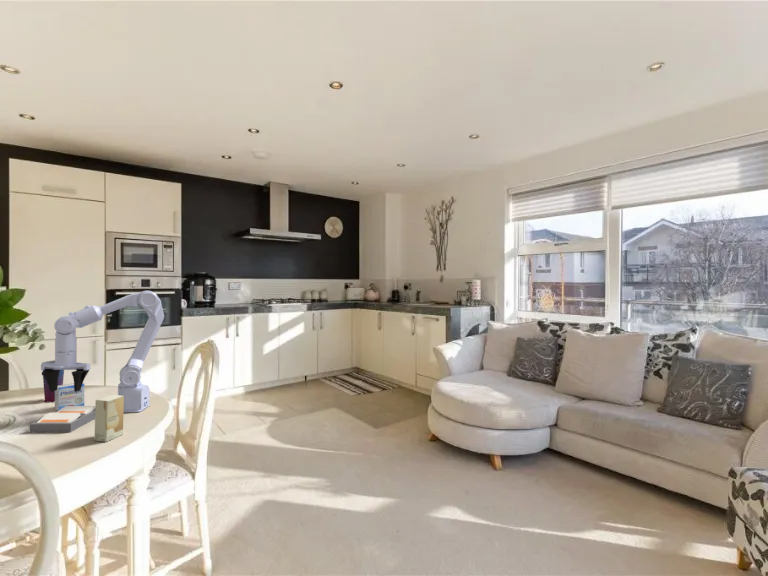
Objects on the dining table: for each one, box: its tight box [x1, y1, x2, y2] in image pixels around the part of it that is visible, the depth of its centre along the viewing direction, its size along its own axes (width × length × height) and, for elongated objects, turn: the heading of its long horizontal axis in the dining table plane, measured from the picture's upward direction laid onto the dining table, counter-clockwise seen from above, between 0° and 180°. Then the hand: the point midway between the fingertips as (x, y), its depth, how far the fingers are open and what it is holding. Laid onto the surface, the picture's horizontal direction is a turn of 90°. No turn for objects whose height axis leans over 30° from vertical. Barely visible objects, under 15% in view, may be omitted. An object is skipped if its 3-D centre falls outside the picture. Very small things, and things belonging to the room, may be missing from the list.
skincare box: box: [94, 394, 125, 443], centre depth 118 cm, size 6×4×12 cm
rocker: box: [37, 412, 80, 423], centre depth 125 cm, size 10×5×1 cm, turn 95°
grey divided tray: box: [28, 409, 95, 434], centre depth 129 cm, size 12×15×3 cm
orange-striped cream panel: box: [56, 405, 95, 415], centre depth 132 cm, size 10×5×1 cm, turn 95°
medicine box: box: [54, 382, 86, 412], centre depth 143 cm, size 8×4×9 cm, turn 143°
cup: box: [41, 359, 65, 403], centre depth 151 cm, size 7×7×15 cm
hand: (65, 390), depth 133 cm, fingers open, 7 cm apart
